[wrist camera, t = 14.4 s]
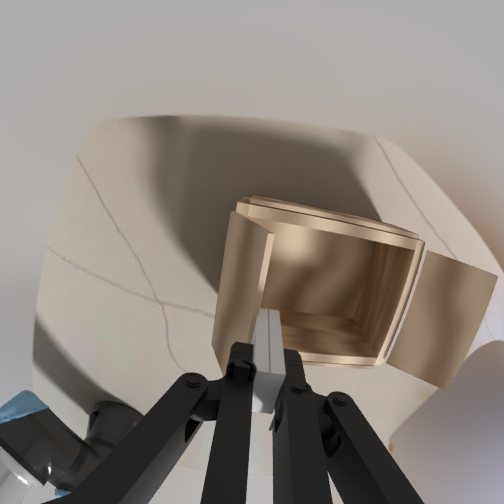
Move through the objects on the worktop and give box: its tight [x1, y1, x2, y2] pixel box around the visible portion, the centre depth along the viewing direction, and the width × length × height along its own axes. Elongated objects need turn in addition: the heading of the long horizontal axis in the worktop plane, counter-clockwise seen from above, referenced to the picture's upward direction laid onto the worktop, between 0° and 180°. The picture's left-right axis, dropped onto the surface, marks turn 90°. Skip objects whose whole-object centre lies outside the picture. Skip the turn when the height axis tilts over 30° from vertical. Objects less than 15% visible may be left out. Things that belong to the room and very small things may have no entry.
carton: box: [236, 195, 425, 369], centre depth 29 cm, size 18×15×10 cm
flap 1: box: [212, 211, 275, 376], centre depth 20 cm, size 8×13×1 cm
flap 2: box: [386, 250, 498, 390], centre depth 22 cm, size 8×13×1 cm
